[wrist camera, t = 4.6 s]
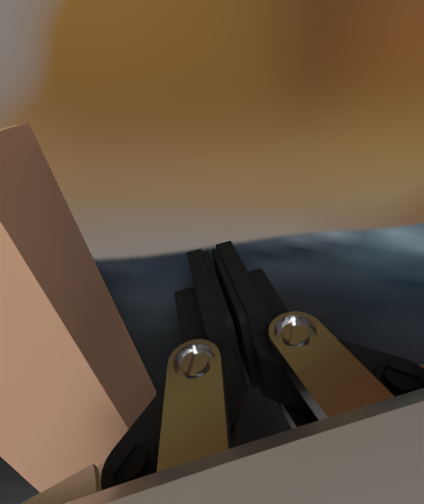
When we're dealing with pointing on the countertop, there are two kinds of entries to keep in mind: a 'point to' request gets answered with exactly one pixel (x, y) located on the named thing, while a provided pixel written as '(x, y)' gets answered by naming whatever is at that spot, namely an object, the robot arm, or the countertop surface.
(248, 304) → the robot arm
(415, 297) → the countertop surface
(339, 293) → the countertop surface
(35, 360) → the t block
